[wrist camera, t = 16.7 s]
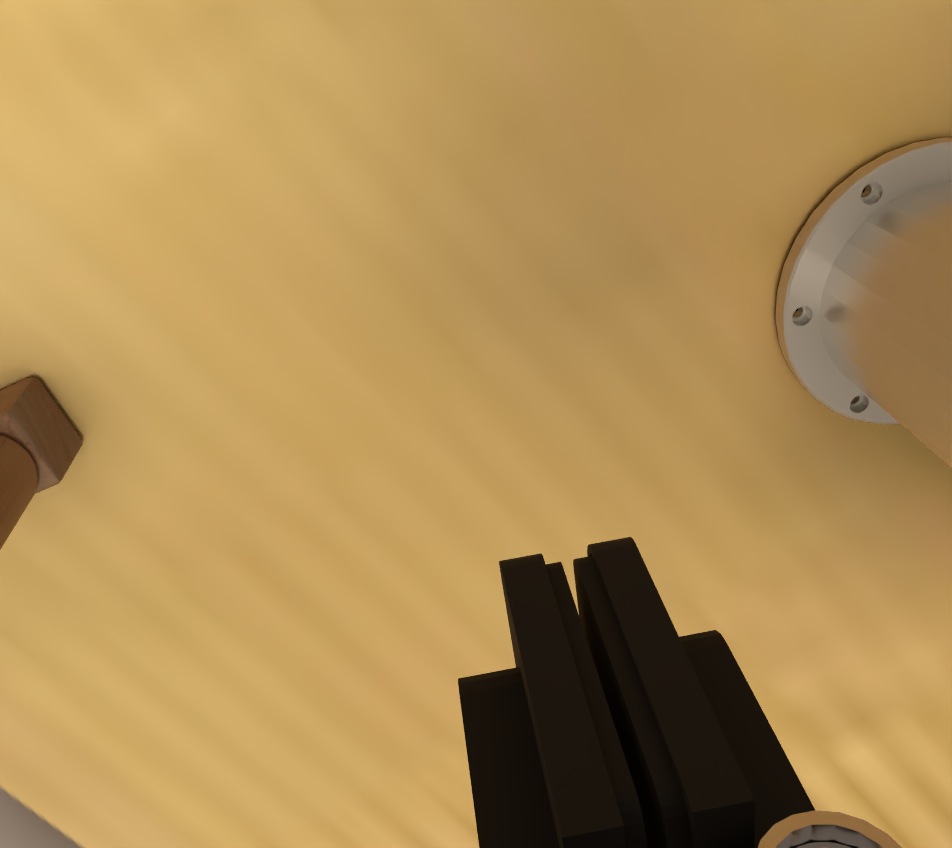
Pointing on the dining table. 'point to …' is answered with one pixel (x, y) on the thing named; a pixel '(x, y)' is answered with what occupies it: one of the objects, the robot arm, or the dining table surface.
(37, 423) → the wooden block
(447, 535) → the dining table surface
